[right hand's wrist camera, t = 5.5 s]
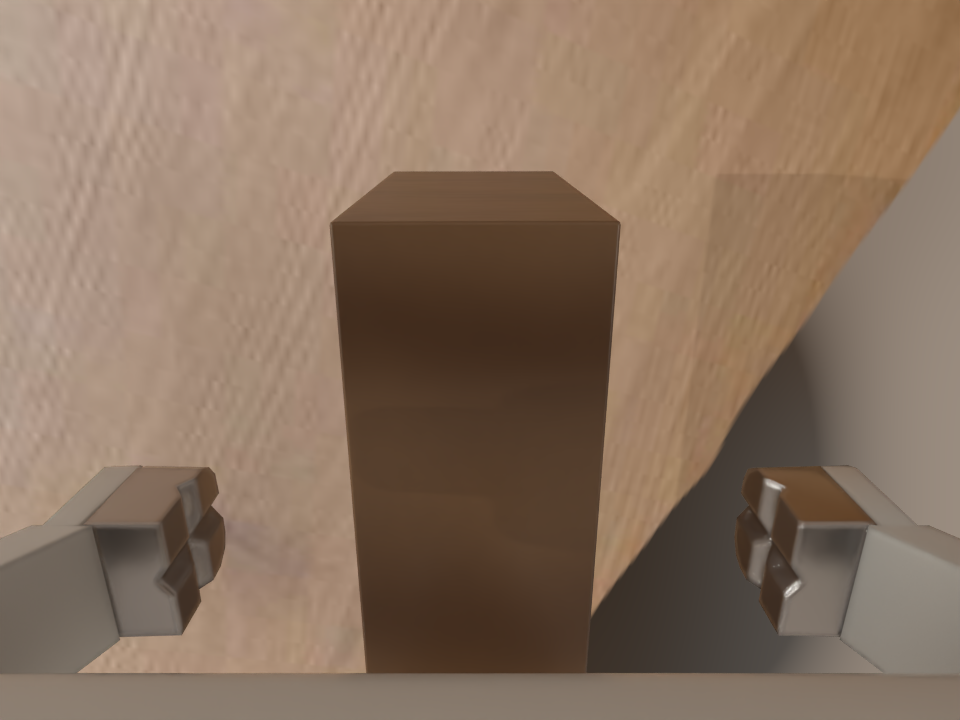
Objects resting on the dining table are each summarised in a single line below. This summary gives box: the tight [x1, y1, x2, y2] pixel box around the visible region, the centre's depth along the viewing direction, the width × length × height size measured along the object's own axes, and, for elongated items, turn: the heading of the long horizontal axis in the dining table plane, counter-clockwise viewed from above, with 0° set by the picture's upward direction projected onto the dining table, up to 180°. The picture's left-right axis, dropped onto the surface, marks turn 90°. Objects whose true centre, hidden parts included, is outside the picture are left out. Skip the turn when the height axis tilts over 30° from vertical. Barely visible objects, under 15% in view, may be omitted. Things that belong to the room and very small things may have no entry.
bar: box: [330, 171, 621, 673], centre depth 20 cm, size 26×5×9 cm, turn 0°
